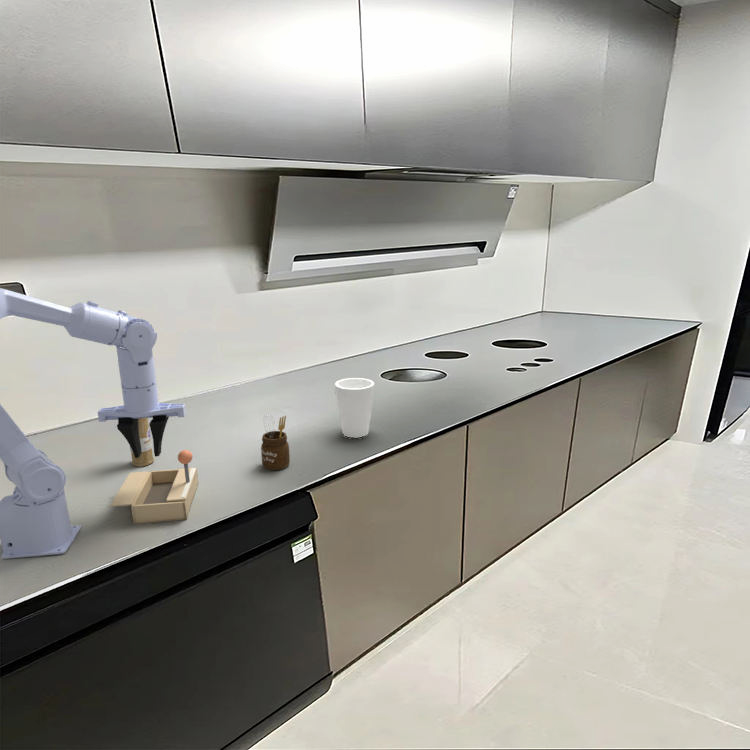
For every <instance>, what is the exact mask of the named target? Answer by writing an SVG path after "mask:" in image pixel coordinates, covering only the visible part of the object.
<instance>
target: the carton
mask: <svg viewBox="0 0 750 750" xmlns="http://www.w3.org/2000/svg"><path fill="white" fill-rule="evenodd" d="M179 469H180V468H177V469H176V468H175V469H163V470H162V469H161V470H151V471H136V472H134V471H133V472H129V474H128V475H127V476H126V478H125V480H124V482H123V484H122V485H121V487H120V488H119V490H118V492H117V493H116V495H115V497H113V500H112V502H111V503H110V504H109V506H110V507H111V508H113V507H124V506H130V508H131V514H132V520H133V521H132V522H133V524H134V525H136V524H147V523H158V522H159V523H160V522H171V521H183V520H186V521H187V519H188V518H189V517H188V516H189V514H190V510H191V508H190V507H192V505H193V502H192V501H193V500H194V499H195V495H196V492H197V489H198V486H199V476H198V469H197V470H196V473H195V476H194V478H193V481H192V484H191V487H190V490H189V493H188V495H187V498H186V500H181V501H168V502H166V500H167V497H168V495H169V493H170V490H171V488H172V485H173V483H174V481H175V478H176V476H177V473H178V471H179ZM191 504H192V505H191ZM188 513H189V514H188Z"/></svg>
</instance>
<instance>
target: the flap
mask: <svg viewBox="0 0 750 750" xmlns="http://www.w3.org/2000/svg"><path fill="white" fill-rule="evenodd" d="M177 460H178V462H179V463H181V464H183V466H184V467H183V468H178V469H179V471H178V473H177V476H176V478H175V481H174V483H173V485H172V488H171V490H170V493H169V495H168V497H167V500H166V502H168V501H181V500H186V498H187V495H188V493H189V490H190V487H191V484H192V481H193V478H194V476H195V473H196V470H197V471H198V467H189V463H190V462H192V460H193V453H192V452H191V451H190V450H189V449H183V450H181V451H180V452H179V453H178V454H177Z"/></svg>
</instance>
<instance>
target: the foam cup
mask: <svg viewBox="0 0 750 750" xmlns="http://www.w3.org/2000/svg"><path fill="white" fill-rule="evenodd" d="M334 394H335V395H336V402H337V407H338V414H339V420H340V426H341V427H340V428H341V431H342V435H343V434H344V435H345V436H347V437H362V436H365V435H367V434H368V435H369V431H370V424H371V418H372V417H371V416H372V409H373V408H372V407H373V401H374V394H375V382H374V381H373V380H371V379H368V378H361V377H356V378H355V377H350V378H349V377H348V378H342V379H340V380H336V382H335V383H334ZM344 435H343V436H344ZM368 435H367V436H368ZM345 436H344V437H345ZM347 437H346V438H347Z"/></svg>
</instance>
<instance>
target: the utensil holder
mask: <svg viewBox="0 0 750 750" xmlns="http://www.w3.org/2000/svg"><path fill="white" fill-rule="evenodd" d="M265 417H267V420H268V421H269V422H271V421H272V422H271V423H272V425H274V424H275V421H273V420H275V419H274V417H273V416H272V415H271V414H266V415H265ZM269 418H270V419H269ZM286 419H287V416H286V415H284V416H281V417H279V422H278V430H271V428H272V427H271V424H270V423H268V426H269V424H270V426H269V429H268V427H267V425H265V426H264V429H265V431H266V432H265V433H263V434H262V438H261V440H262V441H261V442H262V443H261V447H260V452H261V463H262V466H263V468H264V469H266V470H267V471H268V470H269V471H281V470H283V469H285V468H287V467H288V466H289V465H290V461H291V459H290V445H289V442H288V441H287V440H288V437H287V433H286V432H284V431H283V430H284V429H285V428H286ZM267 420H266V418H263V419H262V421H263V424H266V421H267Z"/></svg>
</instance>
